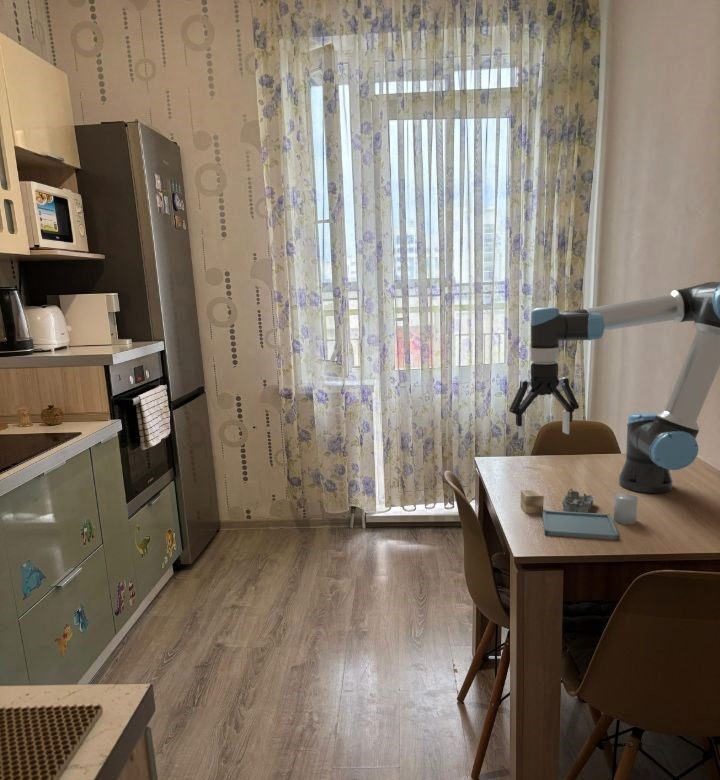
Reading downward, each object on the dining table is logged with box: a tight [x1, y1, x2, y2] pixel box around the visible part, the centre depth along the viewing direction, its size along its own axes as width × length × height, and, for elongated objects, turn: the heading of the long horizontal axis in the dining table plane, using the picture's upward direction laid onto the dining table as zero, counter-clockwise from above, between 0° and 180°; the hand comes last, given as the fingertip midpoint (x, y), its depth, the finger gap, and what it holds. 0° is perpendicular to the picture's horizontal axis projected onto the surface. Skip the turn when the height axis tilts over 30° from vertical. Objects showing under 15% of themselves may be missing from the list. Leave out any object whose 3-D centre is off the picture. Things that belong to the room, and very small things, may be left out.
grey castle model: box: [561, 487, 596, 513], centre depth 171 cm, size 11×8×4 cm
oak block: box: [520, 489, 545, 514], centre depth 170 cm, size 5×5×5 cm
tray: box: [541, 509, 620, 541], centre depth 158 cm, size 18×15×1 cm
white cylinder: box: [613, 493, 639, 526], centre depth 161 cm, size 6×6×6 cm
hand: (543, 435), depth 174 cm, fingers open, 13 cm apart
